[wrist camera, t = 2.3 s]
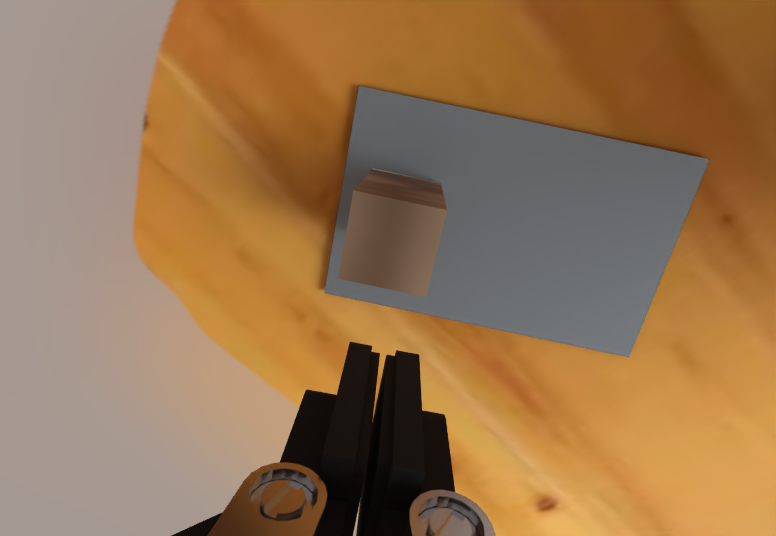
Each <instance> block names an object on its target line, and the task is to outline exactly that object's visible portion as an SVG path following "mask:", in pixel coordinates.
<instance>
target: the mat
mask: <svg viewBox="0 0 776 536" xmlns="http://www.w3.org/2000/svg"><path fill="white" fill-rule="evenodd" d="M709 160H710V159H706V158H701V157H697V156H692V155H687V154H682V153H678V152H673V151H668V150H663V149H659V148H654V147H649V146H644V145H639V144H635V143H630V142H625V141H620V140H616V139H611V138H606V137H601V136H596V135H592V134H587V133H582V132H577V131H573V130H568V129H563V128H558V127H554V126H549V125H544V124H539V123H534V122H530V121H525V120H520V119H515V118H511V117H506V116H501V115H496V114H492V113H487V112H482V111H477V110H472V109H468V108H463V107H458V106H453V105H449V104H444V103H439V102H434V101H430V100H425V99H420V98H415V97H410V96H406V95H401V94H396V93H391V92H387V91H382V90H377V89H372V88H367V87H363V86H359V89H358V95H357V101H356V107H355V113H354V119H353V125H352V131H351V137H350V143H349V149H348V155H347V161H346V167H345V173H344V179H343V185H342V191H341V197H340V203H339V208H338V214H337V220H336V226H335V232H334V238H333V244H332V250H331V256H330V262H329V268H328V274H327V280H326V286H325V292H324V293H327V294H332V295H336V296H341V297H346V298H351V299H355V300H360V301H365V302H370V303H374V304H379V305H384V306H388V307H393V308H398V309H403V310H407V311H412V312H417V313H422V314H426V315H431V316H436V317H441V318H445V319H450V320H455V321H459V322H464V323H469V324H474V325H478V326H483V327H488V328H493V329H497V330H502V331H507V332H511V333H516V334H521V335H526V336H530V337H535V338H540V339H545V340H549V341H554V342H559V343H564V344H568V345H573V346H578V347H582V348H587V349H592V350H597V351H601V352H606V353H611V354H616V355H620V356H625V357H629V356H630V353H631V351H632V349H633V346H634V344H635V341H636V339H637V336H638V334H639V331H640V329H641V326H642V324H643V322H644V319H645V317H646V314H647V312H648V309H649V307H650V304H651V302H652V300H653V297H654V295H655V292H656V290H657V287H658V285H659V282H660V280H661V277H662V275H663V273H664V270H665V268H666V265H667V263H668V260H669V258H670V255H671V253H672V251H673V248H674V246H675V243H676V241H677V238H678V236H679V233H680V231H681V228H682V226H683V224H684V221H685V219H686V216H687V214H688V211H689V209H690V206H691V204H692V202H693V199H694V197H695V194H696V192H697V189H698V187H699V184H700V182H701V179H702V177H703V175H704V172H705V170H706V167H707V165H708V162H709ZM372 168H374V169H378V170H383V171H388V172H393V173H397V174H402V175H407V176H412V177H417V178H421V179H426V180H431V181H436V182H440V183H441V186H442V190H443V194H444V198H445V203H446V207H447V213H446V217H445V222H444V226H443V230H442V234H441V238H440V242H439V246H438V250H437V255H436V259H435V263H434V267H433V271H432V275H431V279H430V284H429V288H428V292H427V296H426V297H423V296H418V295H413V294H409V293H404V292H399V291H394V290H390V289H385V288H380V287H375V286H371V285H366V284H361V283H356V282H352V281H347V280H342V279H338V276H339V270H340V264H341V259H342V253H343V247H344V242H345V236H346V230H347V224H348V219H349V213H350V207H351V202H352V196H353V190H354V189H355V188H356V187H357V186H358V185H359V183H360V182H361V181H362V180H363V179H364V178H365V176H366V175H367V174H368V173H369V172H370V171H371V170H372Z"/></svg>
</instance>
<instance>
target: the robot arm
mask: <svg viewBox="0 0 776 536" xmlns="http://www.w3.org/2000/svg"><path fill="white" fill-rule="evenodd" d="M371 350H372V346H370V345H364V344H359V343H354V342H350V344H349V348H348V352H347V356H346V360H345V364H344V368H343V372H342V376H341V380H340V384H339V388H338V392H337V395H334V394H328V393H323V392H317V391H312V390H306V392H305V394H304V397H303V399H302V402H301V405H300V408H299V411H298V413H297V416H296V419H295V421H294V424H293V427H292V430H291V432H290V435H289V438H288V441H287V444H286V446H285V449H284V452H283V455H282V457H281V460H280V463H273V464H269V465H266V466H262V467H260V468H259V469H257V470H256V471H254V472H252V473H251V474H250V475H249V476H248V477H247V478H246V479H245V480H244V481H243V483H242V485H241V486H240V488H239V489H238V491H237V492H236V493H235V495H234V496H233V498H232V500H231V501H230V503H229V504H228V506H227V507H226V508H225V510H224V511H223V512H222V513H220V514H218V515H216V516H214V517H211V518H209V519H207V520H205V521H203V522H200V523H198V524H196V525H194V526H192V527H189V528H187V529H185V530H183V531H181V532H178V533H176V534H174V535H172V536H353V531H354V526H355V522H356V517H357V512H358V507H359V503H360V508H359V516H358V525H357V533H356V536H496V535H495V532H494V529H493V527H492V524H491V522H490V521H489V519H488V517H487V515H486V514H485V512H484V511H483V510H482V509H481V508H480V507H479V506H478V505H477V504H476V503H474V502H473V501H471V500H470V499H468V498H467V497H465V496H463V495H460V494H458V493H456V492H455V487H454V480H453V472H452V464H451V456H450V448H449V441H448V433H447V425H446V418H445V415H444V414H439V413H433V412H428V411H422V400H421V381H420V362H419V354H413V353H408V352H403V351H397V350H396V353H395V356H391V355H387V356H386V360H385V364H384V369H383V374H382V379H381V384H380V389H379V394H378V398H377V403H376V408H375V413H374V418H373V411H374V402H375V393H376V384H377V375H378V366H379V357H380V353H375V352H371ZM372 420H373V423H372ZM360 498H361V499H360Z"/></svg>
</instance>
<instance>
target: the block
mask: <svg viewBox="0 0 776 536" xmlns="http://www.w3.org/2000/svg"><path fill="white" fill-rule="evenodd" d="M446 213H447V207H446V203H445V198H444V194H443V190H442V186H441V183H440V182H436V181H431V180H426V179H421V178H417V177H412V176H407V175H402V174H397V173H393V172H388V171H383V170H378V169H374V168H372V170H371V171H370V172H369V173H368V174H367V175H366V176H365V178H364V179H363V180H362V181H361V182H360V183H359V185H358V186H357V187H356V188H355V189H354V190H353V196H352V202H351V207H350V213H349V219H348V224H347V230H346V236H345V242H344V247H343V253H342V259H341V264H340V270H339V276H338V279H342V280H347V281H352V282H356V283H361V284H366V285H371V286H375V287H380V288H385V289H390V290H394V291H399V292H404V293H409V294H413V295H418V296H423V297H426V296H427V292H428V288H429V284H430V279H431V275H432V271H433V267H434V263H435V259H436V255H437V250H438V246H439V242H440V238H441V234H442V230H443V226H444V222H445V217H446Z"/></svg>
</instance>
